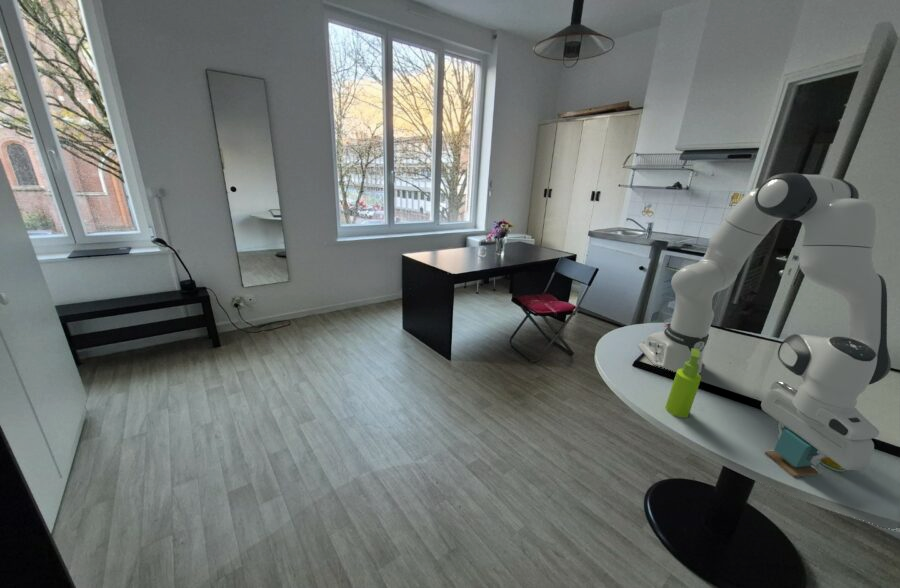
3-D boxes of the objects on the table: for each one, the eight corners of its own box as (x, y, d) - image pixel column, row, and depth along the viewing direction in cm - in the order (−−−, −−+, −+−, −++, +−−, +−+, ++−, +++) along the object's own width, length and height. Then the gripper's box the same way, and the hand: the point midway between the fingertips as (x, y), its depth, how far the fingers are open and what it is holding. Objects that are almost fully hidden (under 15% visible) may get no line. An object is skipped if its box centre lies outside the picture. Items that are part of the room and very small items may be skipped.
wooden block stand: (764, 453, 87) (774, 432, 85) (788, 450, 88) (799, 430, 85) (792, 477, 81) (804, 455, 78) (818, 474, 82) (831, 452, 79)
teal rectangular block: (773, 449, 86) (783, 429, 83) (791, 447, 86) (802, 427, 84) (795, 467, 81) (806, 446, 78) (814, 464, 82) (826, 444, 79)
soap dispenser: (689, 406, 103) (708, 350, 96) (688, 420, 98) (708, 362, 90) (666, 399, 106) (683, 344, 99) (664, 412, 101) (682, 355, 93)
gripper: (764, 378, 87) (746, 420, 92) (864, 440, 68) (833, 489, 73) (786, 376, 87) (767, 418, 93) (890, 438, 69) (858, 486, 74)
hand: (797, 450), depth 83 cm, fingers closed on teal rectangular block, 5 cm apart
